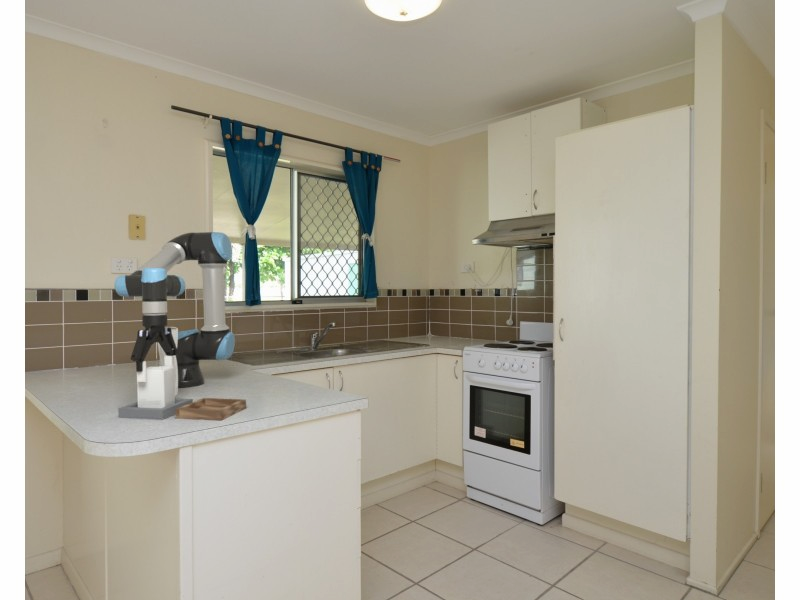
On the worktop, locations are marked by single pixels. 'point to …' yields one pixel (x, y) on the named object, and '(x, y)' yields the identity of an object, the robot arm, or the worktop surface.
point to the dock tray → (210, 409)
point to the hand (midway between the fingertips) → (155, 378)
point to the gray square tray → (151, 410)
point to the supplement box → (157, 388)
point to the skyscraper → (162, 354)
